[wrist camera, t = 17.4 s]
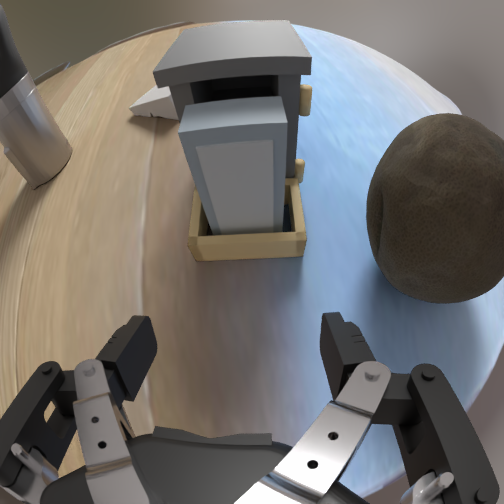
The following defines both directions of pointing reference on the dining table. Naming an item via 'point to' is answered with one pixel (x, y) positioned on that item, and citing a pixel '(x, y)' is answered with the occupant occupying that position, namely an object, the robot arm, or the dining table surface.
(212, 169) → the slate door
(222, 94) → the charcoal cabinet
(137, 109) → the decorative molding
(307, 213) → the dining table surface
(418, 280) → the dark brown round piece
